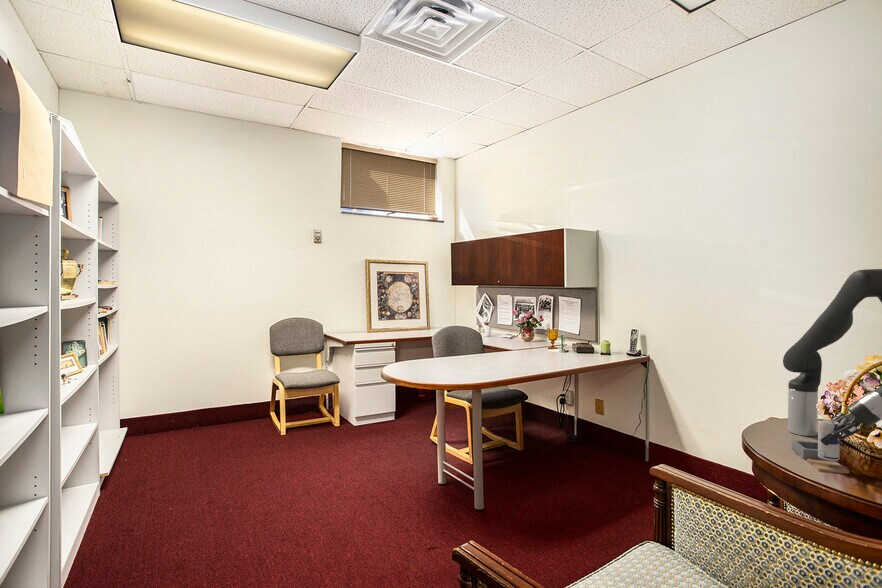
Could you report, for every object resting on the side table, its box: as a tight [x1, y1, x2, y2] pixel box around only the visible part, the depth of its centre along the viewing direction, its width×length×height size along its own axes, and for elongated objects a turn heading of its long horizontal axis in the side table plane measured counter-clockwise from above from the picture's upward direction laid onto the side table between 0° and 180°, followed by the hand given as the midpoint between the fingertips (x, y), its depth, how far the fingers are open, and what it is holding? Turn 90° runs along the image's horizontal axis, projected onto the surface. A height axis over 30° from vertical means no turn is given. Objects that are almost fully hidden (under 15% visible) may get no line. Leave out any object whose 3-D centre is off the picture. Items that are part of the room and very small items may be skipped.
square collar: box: [791, 439, 828, 461], centre depth 160 cm, size 9×9×4 cm
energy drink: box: [817, 418, 841, 462], centre depth 150 cm, size 5×5×12 cm
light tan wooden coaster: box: [806, 459, 850, 474], centre depth 151 cm, size 8×8×1 cm
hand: (821, 439), depth 151 cm, fingers closed on energy drink, 5 cm apart
